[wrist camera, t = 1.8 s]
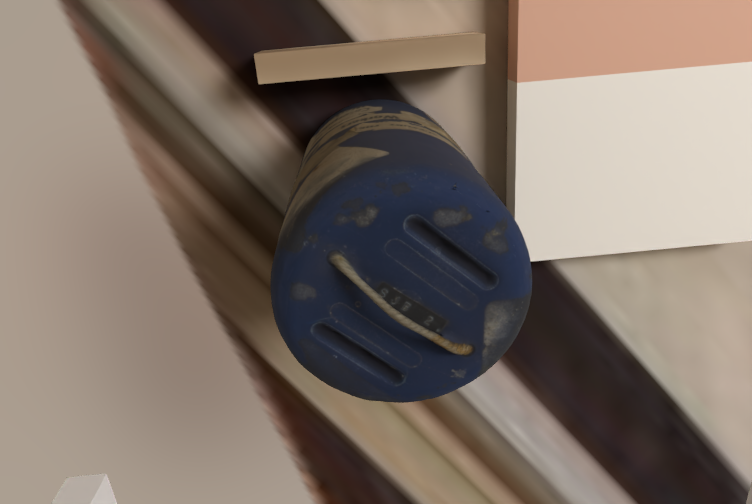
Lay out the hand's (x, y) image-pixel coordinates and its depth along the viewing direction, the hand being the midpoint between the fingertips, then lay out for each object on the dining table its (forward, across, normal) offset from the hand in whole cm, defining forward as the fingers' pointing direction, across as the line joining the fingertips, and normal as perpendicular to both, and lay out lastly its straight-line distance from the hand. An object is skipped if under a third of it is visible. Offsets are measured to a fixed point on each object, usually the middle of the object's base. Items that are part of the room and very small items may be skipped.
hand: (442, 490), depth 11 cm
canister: (+25, 0, 0) cm, 25 cm away
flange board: (+25, -16, -5) cm, 30 cm away
